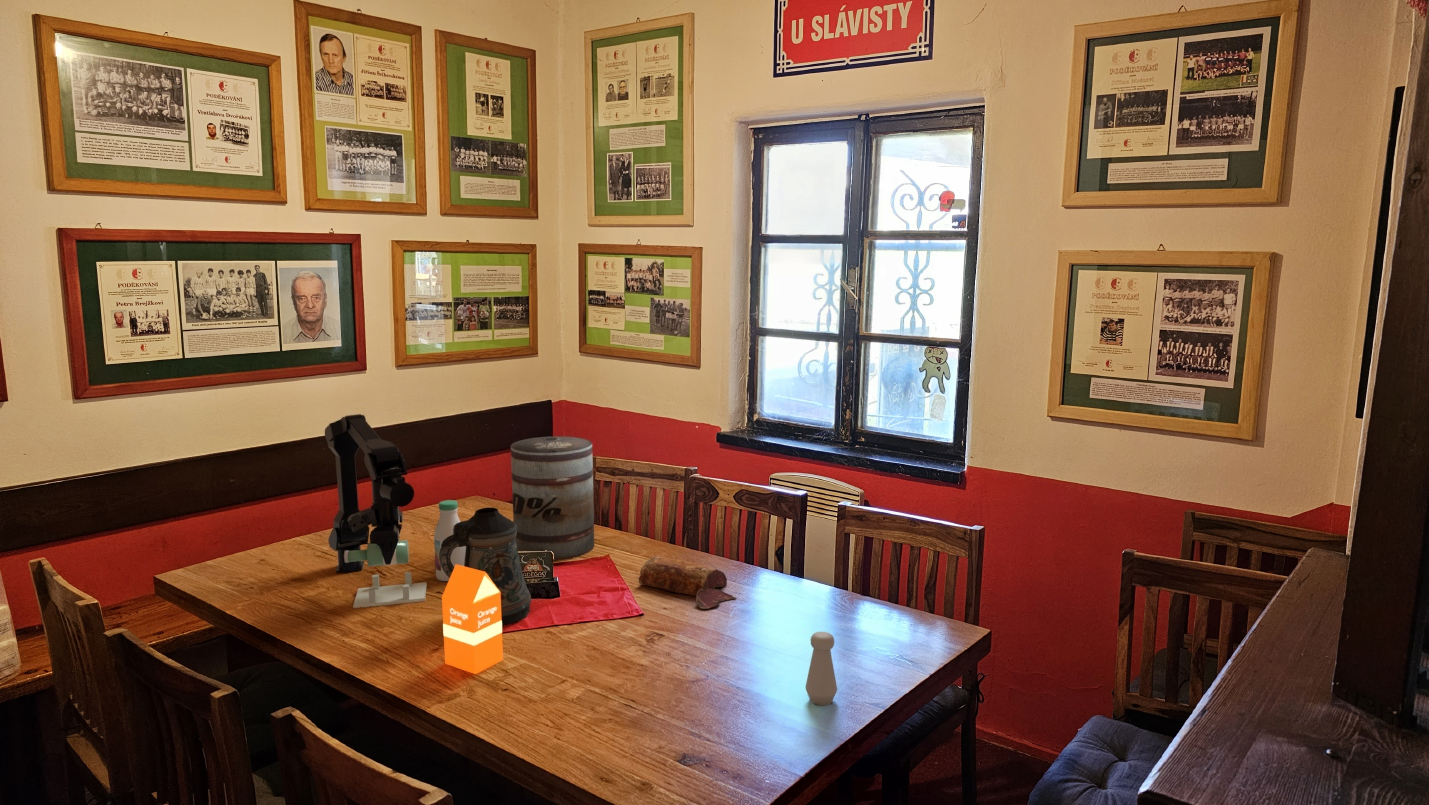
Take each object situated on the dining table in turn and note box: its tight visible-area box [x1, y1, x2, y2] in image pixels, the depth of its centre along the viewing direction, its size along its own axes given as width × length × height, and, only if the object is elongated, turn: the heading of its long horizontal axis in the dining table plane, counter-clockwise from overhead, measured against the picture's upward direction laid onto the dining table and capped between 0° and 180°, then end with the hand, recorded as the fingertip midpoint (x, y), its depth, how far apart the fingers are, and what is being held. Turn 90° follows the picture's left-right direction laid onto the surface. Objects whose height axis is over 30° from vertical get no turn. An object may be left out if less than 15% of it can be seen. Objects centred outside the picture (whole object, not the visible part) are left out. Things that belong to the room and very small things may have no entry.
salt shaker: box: [805, 631, 838, 707], centre depth 163 cm, size 6×6×13 cm
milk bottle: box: [433, 499, 466, 582], centre depth 227 cm, size 8×8×20 cm
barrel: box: [510, 436, 595, 561], centre depth 249 cm, size 22×22×30 cm
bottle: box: [344, 539, 410, 567], centre depth 212 cm, size 14×6×6 cm, turn 106°
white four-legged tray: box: [352, 571, 427, 609], centre depth 215 cm, size 16×11×4 cm
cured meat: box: [638, 555, 737, 610], centre depth 219 cm, size 18×25×7 cm
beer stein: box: [439, 507, 532, 627], centre depth 201 cm, size 16×19×25 cm
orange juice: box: [441, 564, 504, 675], centre depth 178 cm, size 8×9×20 cm
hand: (388, 560), depth 213 cm, fingers closed on bottle, 6 cm apart
